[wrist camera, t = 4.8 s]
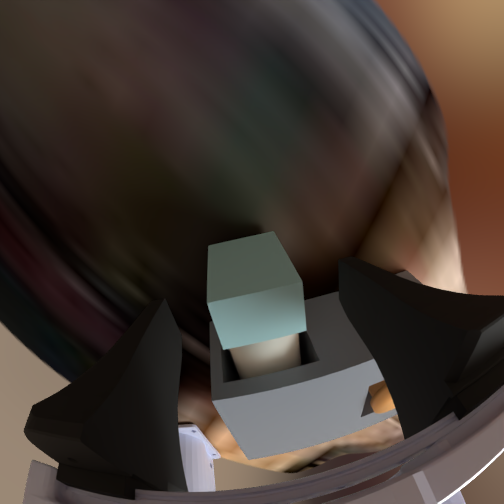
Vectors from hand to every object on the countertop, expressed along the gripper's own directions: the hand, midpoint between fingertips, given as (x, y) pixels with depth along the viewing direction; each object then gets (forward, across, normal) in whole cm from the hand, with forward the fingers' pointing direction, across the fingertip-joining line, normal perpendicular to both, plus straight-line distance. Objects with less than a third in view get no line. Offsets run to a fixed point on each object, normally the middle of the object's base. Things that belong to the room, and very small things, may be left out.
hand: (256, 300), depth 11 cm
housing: (+4, -4, +9) cm, 10 cm away
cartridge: (+4, 0, +5) cm, 6 cm away
